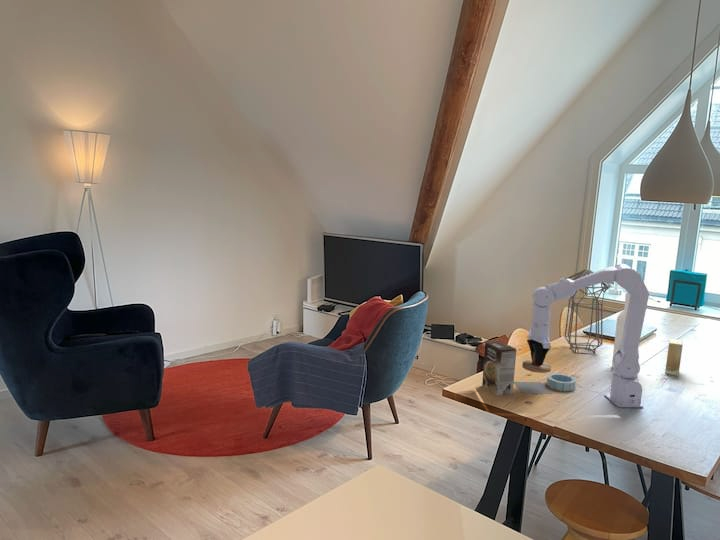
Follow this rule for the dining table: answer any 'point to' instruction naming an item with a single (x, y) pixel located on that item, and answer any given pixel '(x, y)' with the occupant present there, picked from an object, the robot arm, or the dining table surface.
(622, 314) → the bottle
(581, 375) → the dining table surface
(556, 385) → the bowl
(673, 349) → the skincare box
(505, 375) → the coffee box
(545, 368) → the lid
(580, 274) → the geometric lantern
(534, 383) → the plate
